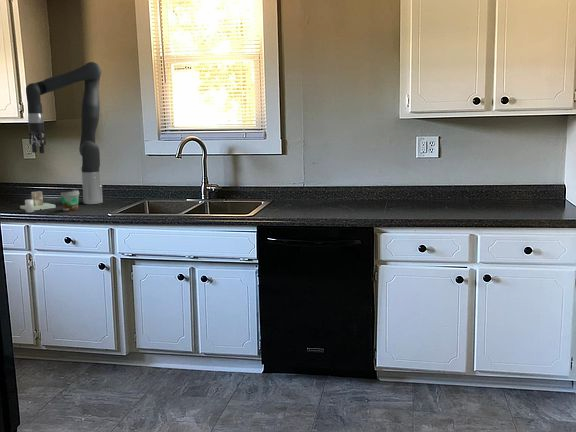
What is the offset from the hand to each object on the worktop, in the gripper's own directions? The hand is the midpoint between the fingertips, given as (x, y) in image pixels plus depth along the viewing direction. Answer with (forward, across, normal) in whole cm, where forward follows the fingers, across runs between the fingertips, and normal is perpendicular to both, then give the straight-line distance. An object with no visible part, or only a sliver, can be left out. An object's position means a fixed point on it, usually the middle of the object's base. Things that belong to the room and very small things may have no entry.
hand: (38, 152), depth 351 cm
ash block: (+27, -8, +6) cm, 28 cm away
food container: (+28, -29, -3) cm, 41 cm away
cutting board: (+28, -8, +6) cm, 30 cm away
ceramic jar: (+28, -16, +14) cm, 35 cm away
